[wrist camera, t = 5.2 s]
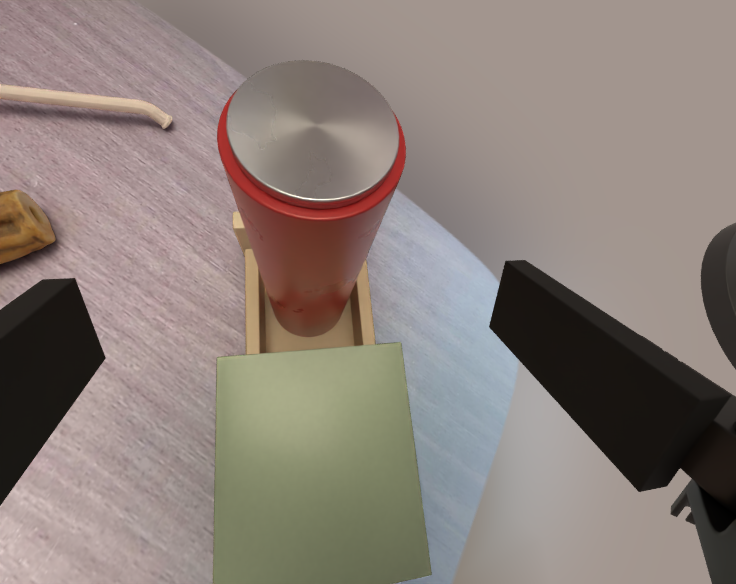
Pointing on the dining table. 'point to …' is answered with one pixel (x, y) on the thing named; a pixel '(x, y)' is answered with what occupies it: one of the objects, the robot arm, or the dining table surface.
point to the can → (310, 182)
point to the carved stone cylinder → (21, 226)
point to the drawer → (274, 338)
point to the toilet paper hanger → (84, 101)
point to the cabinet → (316, 469)
